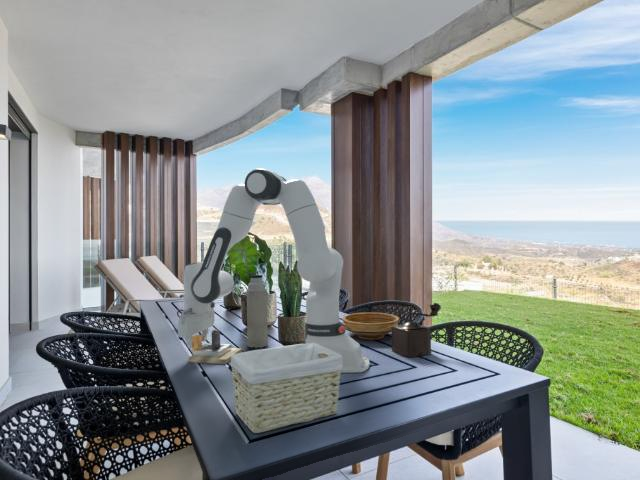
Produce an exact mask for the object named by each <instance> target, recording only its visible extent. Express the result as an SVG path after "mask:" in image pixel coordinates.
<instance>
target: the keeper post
mask: <svg viewBox="0 0 640 480" xmlns="http://www.w3.org/2000/svg"><path fill="white" fill-rule="evenodd" d="M211 343H212V350H217V349H219V348H220V344H221V332H220V330H219V329H217V328H216V329H213V330H212V331H211ZM238 353H243V348H241V347H239V348H238V347H237V348H236V347H231V350H230V351H229V352H227V353H225V354H224V355H222V356H221V357H201V356H193V354H192V355H191V356H189V357H188V363H202V364H203V363H204V364H221V365H226V364H228V363H229V362H231V356H232V355H233V354H238Z"/></svg>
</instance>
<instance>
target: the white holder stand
mask: <svg viewBox="0 0 640 480" xmlns="http://www.w3.org/2000/svg"><path fill="white" fill-rule="evenodd" d="M192 342H194V347H192V348H191V353H192V355H193V356H201V357H221V356H222V355H224V354H225V353H227V352H229V351H230V350H231V348H232V343H220V348H219V349H217V350H212V342H210V343H209V342H206V343H205V344H203V341H202V334H194V335H192Z"/></svg>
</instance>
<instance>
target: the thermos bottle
mask: <svg viewBox="0 0 640 480" xmlns="http://www.w3.org/2000/svg"><path fill="white" fill-rule="evenodd" d="M247 287H248V288H247V289H246V321H247V322H246V323H247V326H246V327H247V329H246V331H247V336H246V337H247V347H249V348H253V347H255V348H258V347H259V348H265V347H267V346H268V344H269V343H268V342H269V337H268V332H269V330H268V293H267V292H268V289H267V288H266V283H265V282H264V278H263V275H262V274H251V275H250V282H249V283H248V284H247ZM264 346H265V347H264Z"/></svg>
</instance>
